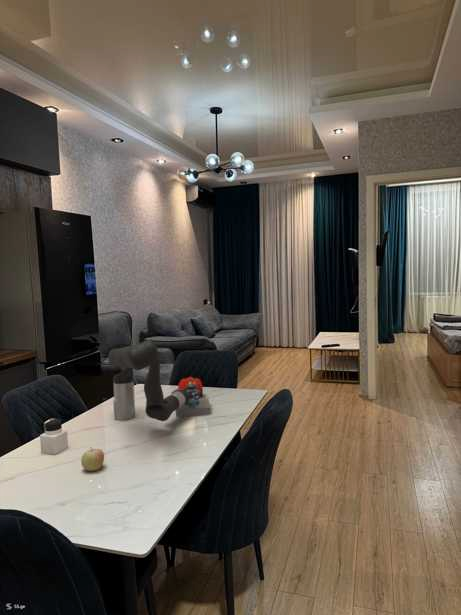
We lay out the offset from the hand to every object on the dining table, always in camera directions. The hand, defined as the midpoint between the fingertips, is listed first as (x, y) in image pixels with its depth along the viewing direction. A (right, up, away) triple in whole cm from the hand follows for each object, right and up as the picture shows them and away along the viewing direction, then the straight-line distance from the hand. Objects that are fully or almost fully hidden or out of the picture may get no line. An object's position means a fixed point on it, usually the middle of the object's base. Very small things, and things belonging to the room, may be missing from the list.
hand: (194, 390), depth 208 cm
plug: (0, -9, -1) cm, 10 cm away
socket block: (0, -10, -1) cm, 10 cm away
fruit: (-30, -16, -61) cm, 70 cm away
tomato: (-4, -8, +21) cm, 23 cm away
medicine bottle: (-50, -15, -44) cm, 68 cm away
